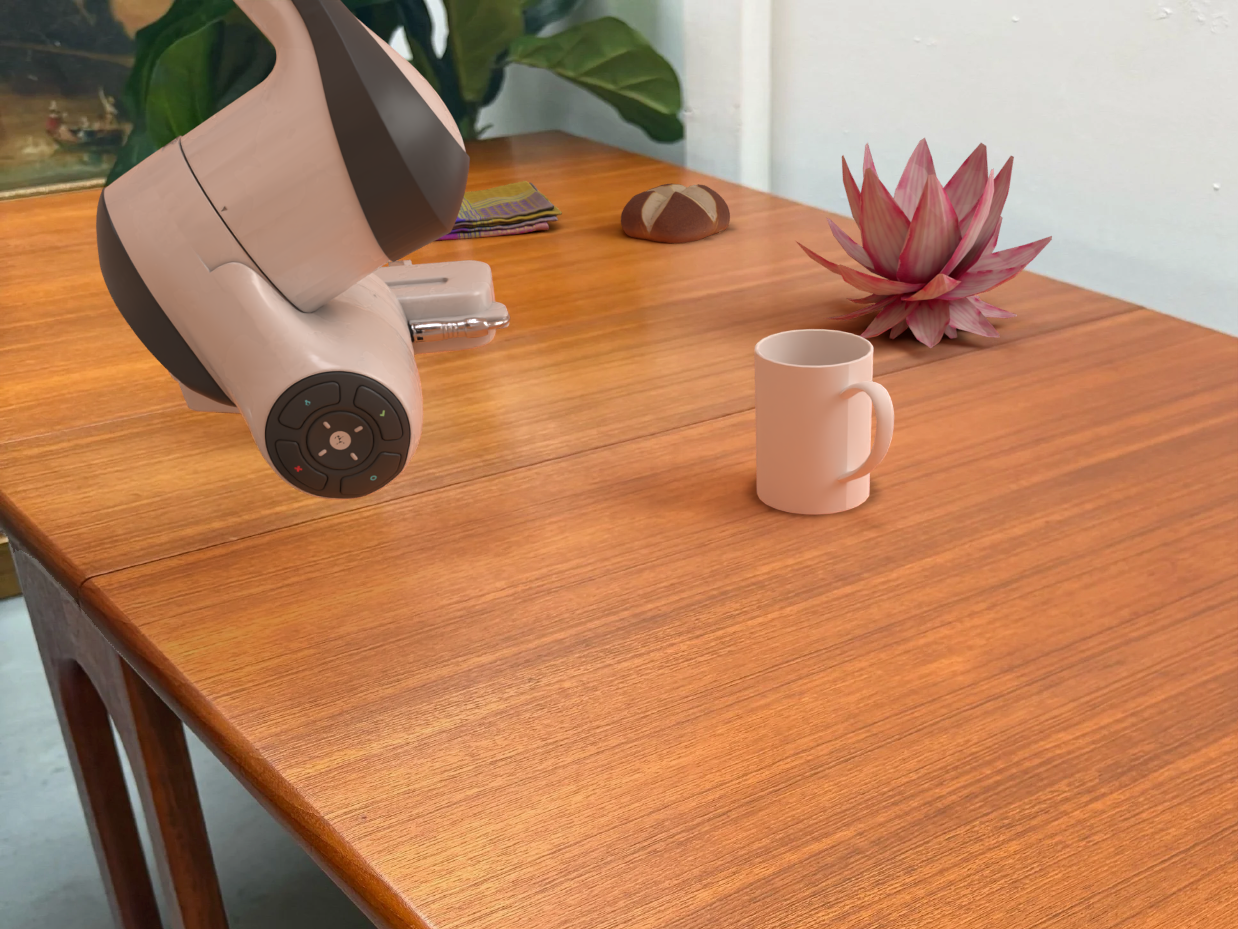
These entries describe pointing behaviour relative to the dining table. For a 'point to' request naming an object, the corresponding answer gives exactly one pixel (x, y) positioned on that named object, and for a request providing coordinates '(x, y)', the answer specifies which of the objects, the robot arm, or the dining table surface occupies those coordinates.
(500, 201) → the dish towel
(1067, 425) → the dining table surface
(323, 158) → the robot arm
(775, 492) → the mug
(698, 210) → the bread
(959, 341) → the dining table surface
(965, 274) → the decorative flower
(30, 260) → the dining table surface
